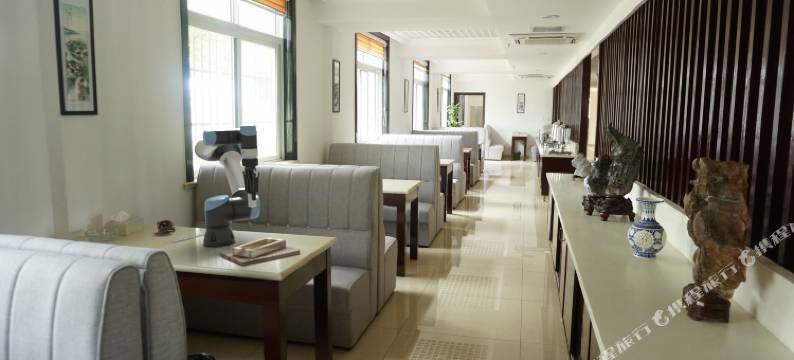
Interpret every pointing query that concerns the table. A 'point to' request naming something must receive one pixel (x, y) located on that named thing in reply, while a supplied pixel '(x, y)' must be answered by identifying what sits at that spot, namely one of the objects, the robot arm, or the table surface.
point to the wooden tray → (258, 247)
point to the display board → (260, 256)
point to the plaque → (189, 238)
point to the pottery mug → (165, 226)
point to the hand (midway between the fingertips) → (252, 206)
